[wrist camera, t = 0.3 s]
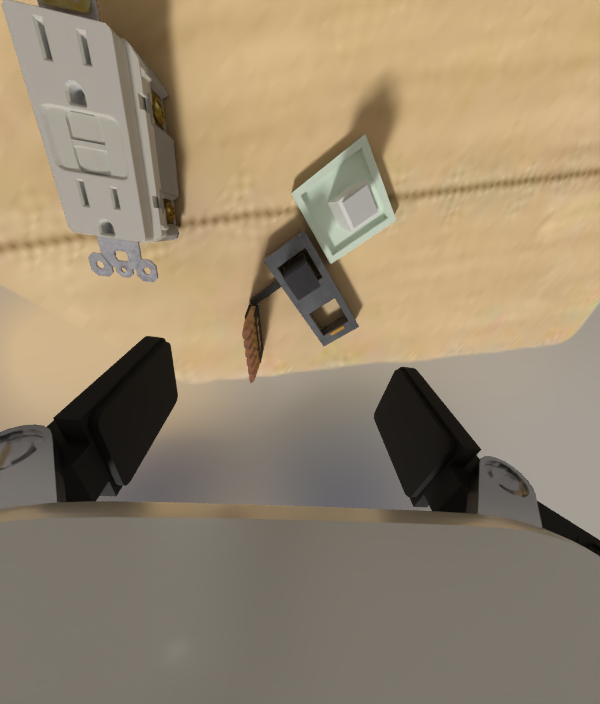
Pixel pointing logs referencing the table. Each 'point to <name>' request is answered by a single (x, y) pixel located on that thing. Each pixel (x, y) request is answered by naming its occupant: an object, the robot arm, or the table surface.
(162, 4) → the table surface
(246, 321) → the ammunition clip
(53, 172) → the electrical outlet
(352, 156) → the tray
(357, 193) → the grey rectangular block
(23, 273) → the table surface
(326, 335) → the dark grey holder base
